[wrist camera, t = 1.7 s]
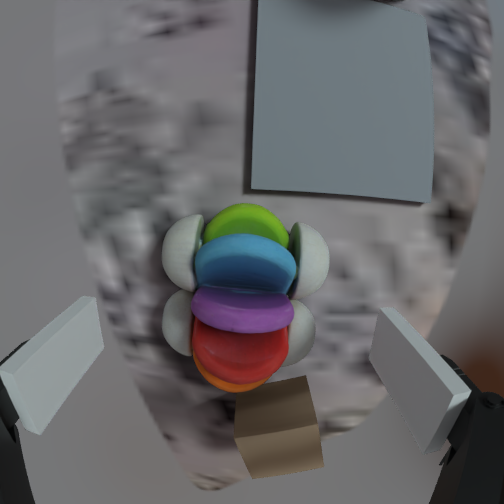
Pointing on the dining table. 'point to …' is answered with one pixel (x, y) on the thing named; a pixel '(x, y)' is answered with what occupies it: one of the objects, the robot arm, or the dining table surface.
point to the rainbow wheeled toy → (241, 293)
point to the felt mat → (343, 100)
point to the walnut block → (277, 429)
